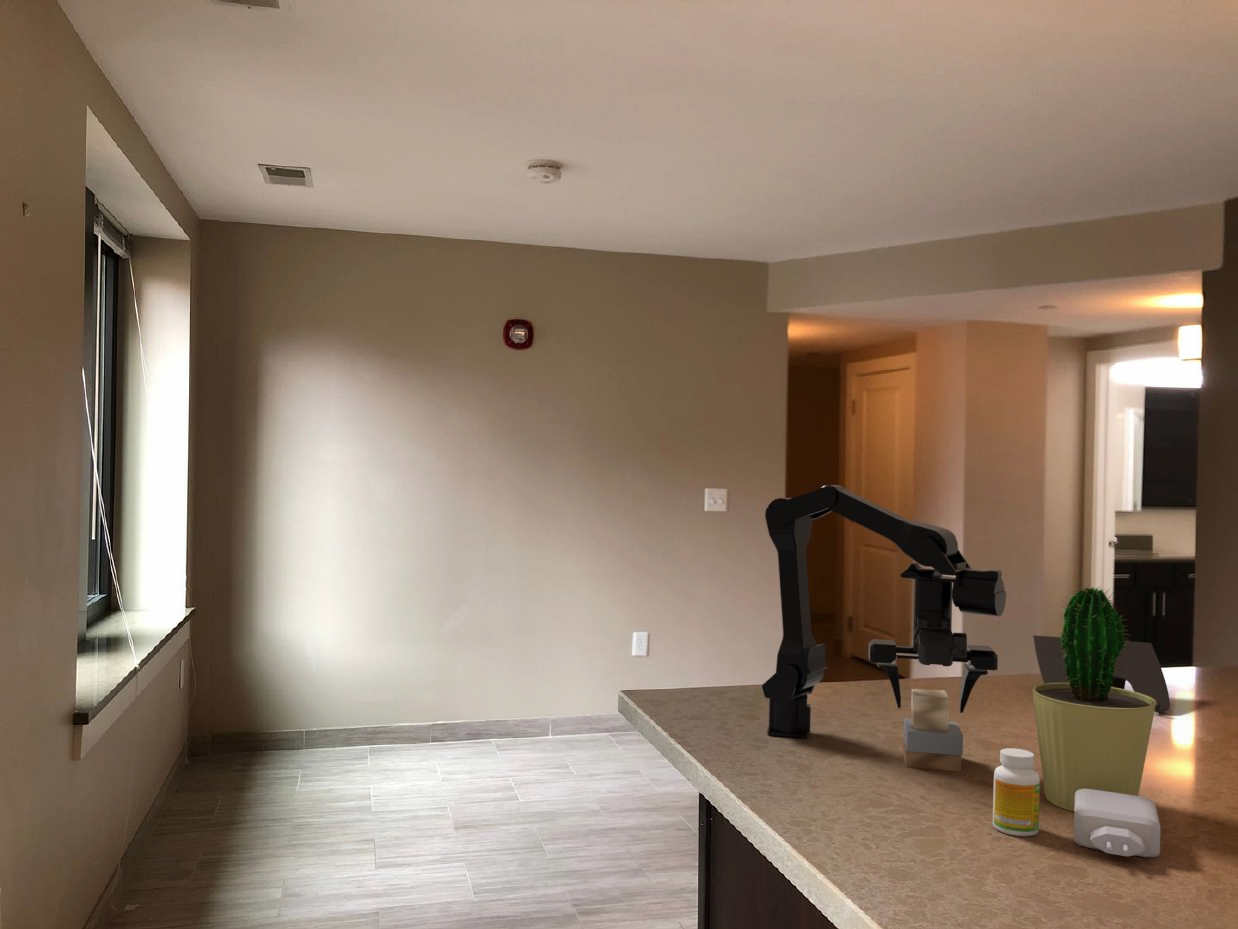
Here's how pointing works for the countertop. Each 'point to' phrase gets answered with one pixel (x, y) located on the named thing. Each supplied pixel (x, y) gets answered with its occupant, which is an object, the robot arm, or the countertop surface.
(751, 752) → the countertop surface
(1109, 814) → the charger
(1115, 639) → the potted cactus
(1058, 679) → the portable electronic device stand
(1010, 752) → the supplement bottle
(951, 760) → the walnut block
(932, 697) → the birch cube
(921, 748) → the slate block
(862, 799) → the countertop surface
